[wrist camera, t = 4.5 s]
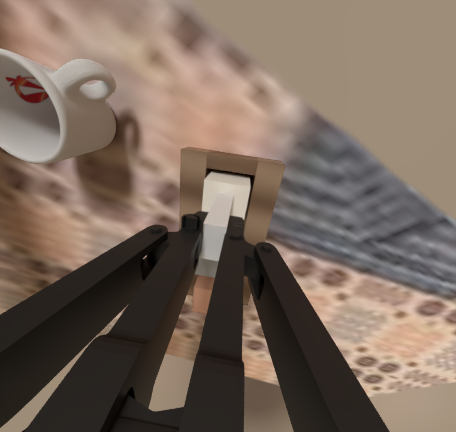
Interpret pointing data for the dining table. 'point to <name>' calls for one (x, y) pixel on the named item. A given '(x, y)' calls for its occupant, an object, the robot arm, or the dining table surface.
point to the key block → (258, 199)
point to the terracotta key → (202, 293)
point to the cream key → (227, 191)
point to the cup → (54, 109)
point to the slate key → (206, 267)
